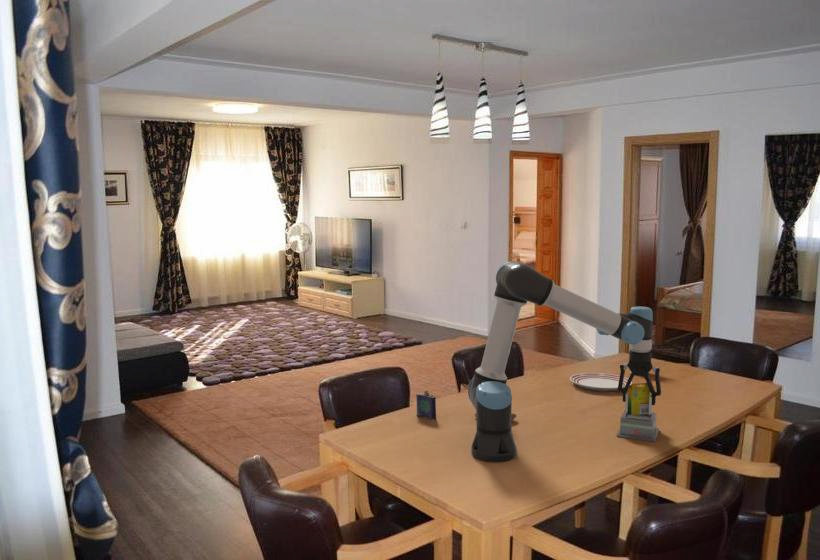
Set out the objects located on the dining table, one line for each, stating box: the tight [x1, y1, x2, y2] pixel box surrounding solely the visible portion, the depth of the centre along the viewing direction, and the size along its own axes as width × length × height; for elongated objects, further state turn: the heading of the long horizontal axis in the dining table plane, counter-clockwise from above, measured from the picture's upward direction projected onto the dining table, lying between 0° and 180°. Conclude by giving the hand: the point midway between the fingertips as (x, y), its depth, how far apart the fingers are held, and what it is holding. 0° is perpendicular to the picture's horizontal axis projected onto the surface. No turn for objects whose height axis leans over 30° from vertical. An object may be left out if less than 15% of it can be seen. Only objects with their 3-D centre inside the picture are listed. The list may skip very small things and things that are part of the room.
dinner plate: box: [569, 372, 633, 392], centre depth 296 cm, size 27×27×3 cm
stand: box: [616, 410, 660, 443], centre depth 234 cm, size 13×13×7 cm
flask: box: [415, 390, 437, 420], centre depth 256 cm, size 9×3×11 cm, turn 50°
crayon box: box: [627, 382, 651, 415], centre depth 233 cm, size 7×3×12 cm, turn 100°
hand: (638, 411), depth 233 cm, fingers closed on crayon box, 7 cm apart
